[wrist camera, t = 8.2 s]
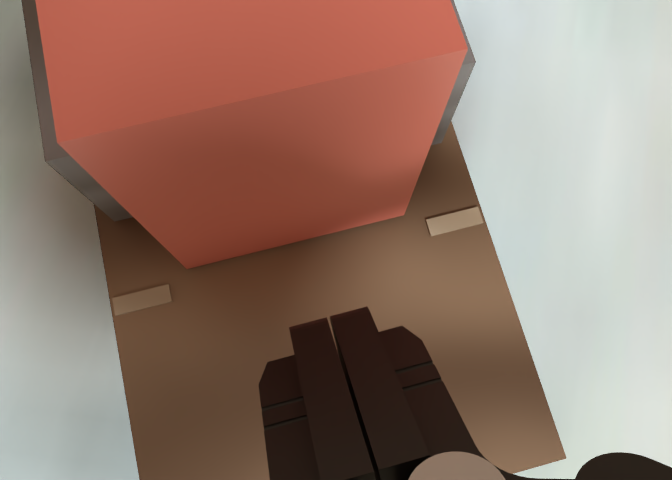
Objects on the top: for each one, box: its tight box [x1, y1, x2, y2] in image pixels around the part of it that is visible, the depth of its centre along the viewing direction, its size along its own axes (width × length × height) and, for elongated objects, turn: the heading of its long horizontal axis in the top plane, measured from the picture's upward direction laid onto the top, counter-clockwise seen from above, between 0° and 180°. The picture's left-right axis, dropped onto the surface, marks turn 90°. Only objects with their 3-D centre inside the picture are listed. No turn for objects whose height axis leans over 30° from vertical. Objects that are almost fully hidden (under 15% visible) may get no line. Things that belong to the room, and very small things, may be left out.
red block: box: [35, 0, 468, 269], centre depth 14 cm, size 6×6×8 cm
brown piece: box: [22, 0, 566, 480], centre depth 16 cm, size 18×11×6 cm, turn 15°
